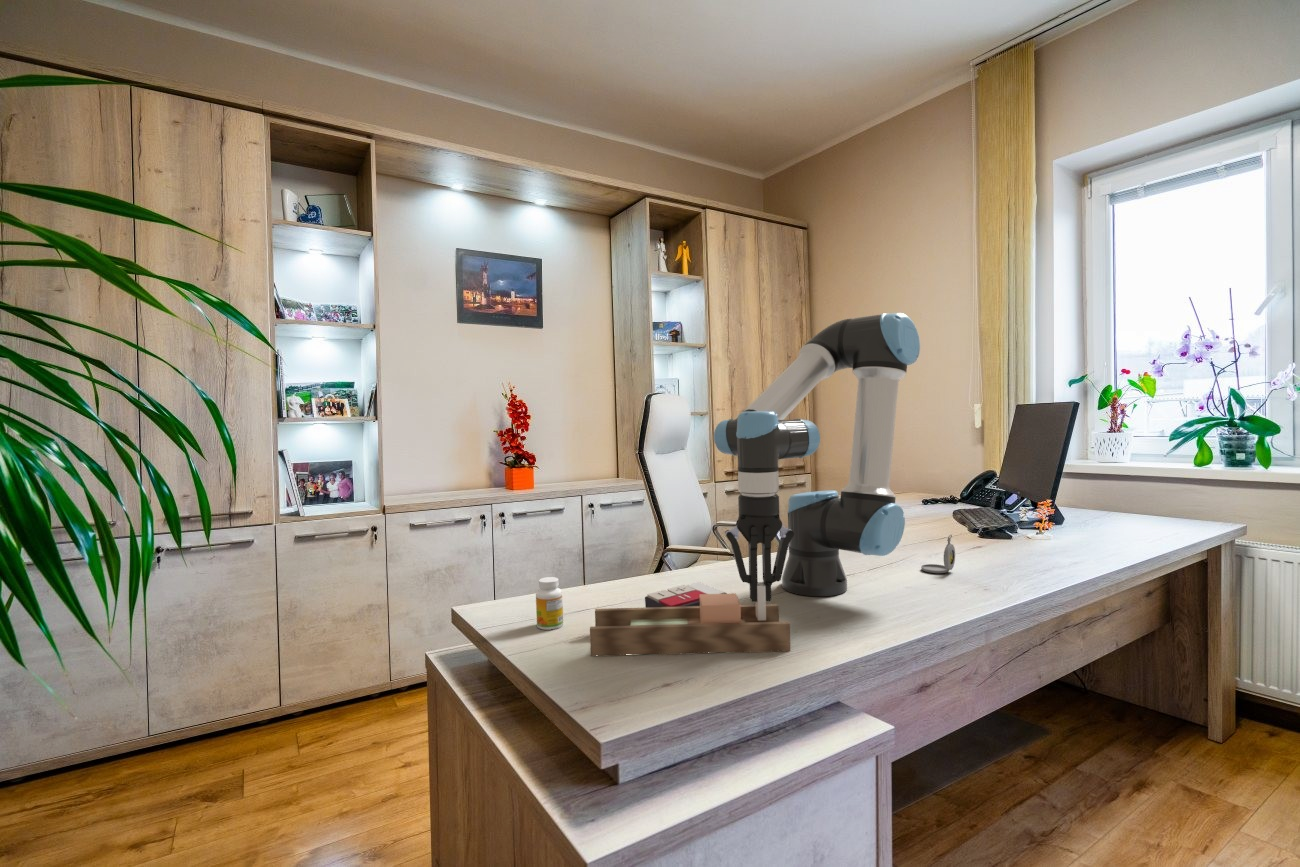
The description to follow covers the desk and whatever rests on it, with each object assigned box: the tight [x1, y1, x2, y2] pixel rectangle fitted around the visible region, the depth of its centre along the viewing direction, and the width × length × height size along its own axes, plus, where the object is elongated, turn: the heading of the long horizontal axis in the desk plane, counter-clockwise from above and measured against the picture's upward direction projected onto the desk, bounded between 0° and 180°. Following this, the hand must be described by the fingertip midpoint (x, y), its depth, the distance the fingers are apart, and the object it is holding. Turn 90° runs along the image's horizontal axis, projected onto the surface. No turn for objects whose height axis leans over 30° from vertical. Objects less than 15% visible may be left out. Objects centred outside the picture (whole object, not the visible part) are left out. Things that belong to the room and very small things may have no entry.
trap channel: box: [589, 603, 791, 657], centre depth 121 cm, size 36×11×5 cm, turn 90°
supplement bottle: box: [535, 576, 564, 631], centre depth 132 cm, size 5×5×10 cm
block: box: [700, 592, 742, 624], centre depth 121 cm, size 7×7×5 cm
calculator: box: [644, 581, 728, 608], centre depth 142 cm, size 11×4×15 cm
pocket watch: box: [920, 534, 956, 574], centre depth 165 cm, size 8×8×10 cm
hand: (760, 617), depth 121 cm, fingers closed
